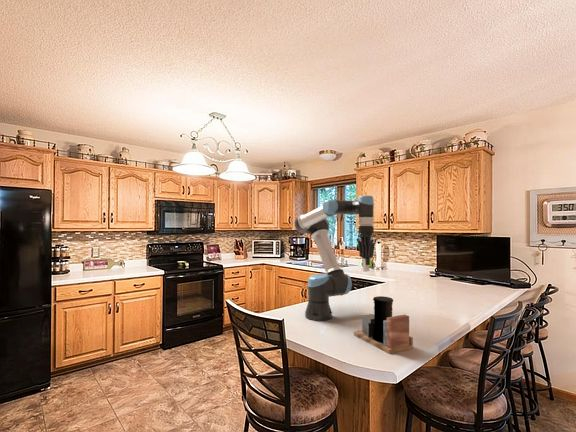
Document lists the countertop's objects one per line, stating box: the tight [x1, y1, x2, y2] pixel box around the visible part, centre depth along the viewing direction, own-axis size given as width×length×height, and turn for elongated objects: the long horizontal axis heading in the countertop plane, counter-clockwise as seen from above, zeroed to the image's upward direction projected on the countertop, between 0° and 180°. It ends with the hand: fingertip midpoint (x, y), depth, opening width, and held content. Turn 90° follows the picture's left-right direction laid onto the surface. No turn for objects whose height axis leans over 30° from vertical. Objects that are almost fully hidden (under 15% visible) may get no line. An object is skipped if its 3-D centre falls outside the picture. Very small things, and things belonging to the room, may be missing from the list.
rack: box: [353, 314, 414, 355], centre depth 138 cm, size 23×13×14 cm, turn 26°
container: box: [372, 295, 394, 343], centre depth 136 cm, size 9×9×18 cm
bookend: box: [361, 313, 374, 337], centre depth 143 cm, size 7×10×8 cm
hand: (366, 271), depth 159 cm, fingers closed
